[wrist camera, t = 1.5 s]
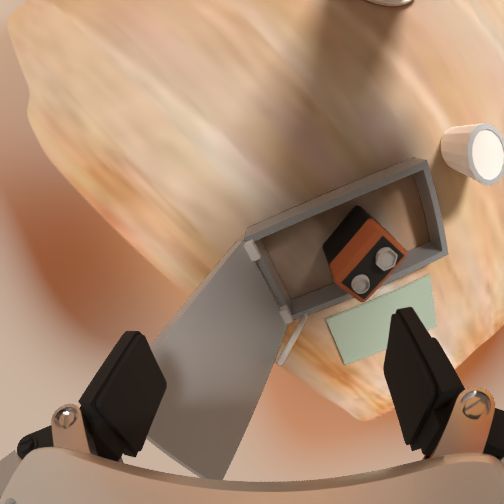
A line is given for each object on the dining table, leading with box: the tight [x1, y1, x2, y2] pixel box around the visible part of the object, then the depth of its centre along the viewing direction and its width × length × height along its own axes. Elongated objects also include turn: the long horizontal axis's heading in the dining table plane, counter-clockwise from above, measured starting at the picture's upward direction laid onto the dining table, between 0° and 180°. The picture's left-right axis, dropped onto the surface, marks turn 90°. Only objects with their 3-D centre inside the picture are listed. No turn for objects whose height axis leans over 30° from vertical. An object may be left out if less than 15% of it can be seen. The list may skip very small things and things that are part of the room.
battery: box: [323, 206, 407, 302], centre depth 28 cm, size 4×7×10 cm, turn 145°
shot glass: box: [441, 123, 504, 185], centre depth 24 cm, size 7×7×7 cm
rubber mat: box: [326, 274, 436, 365], centre depth 37 cm, size 16×10×1 cm, turn 116°
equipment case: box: [244, 157, 448, 366], centre depth 28 cm, size 23×12×11 cm, turn 117°
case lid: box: [146, 240, 288, 480], centre depth 24 cm, size 21×12×1 cm
